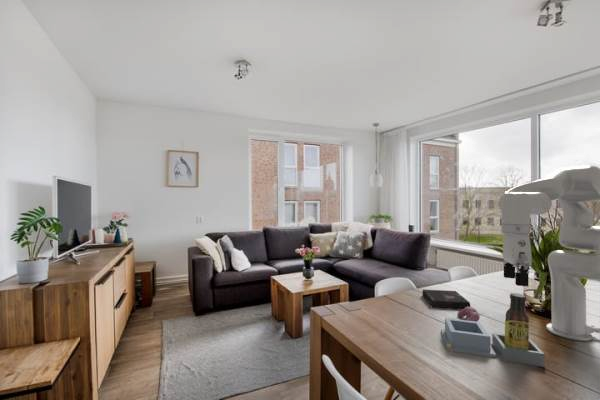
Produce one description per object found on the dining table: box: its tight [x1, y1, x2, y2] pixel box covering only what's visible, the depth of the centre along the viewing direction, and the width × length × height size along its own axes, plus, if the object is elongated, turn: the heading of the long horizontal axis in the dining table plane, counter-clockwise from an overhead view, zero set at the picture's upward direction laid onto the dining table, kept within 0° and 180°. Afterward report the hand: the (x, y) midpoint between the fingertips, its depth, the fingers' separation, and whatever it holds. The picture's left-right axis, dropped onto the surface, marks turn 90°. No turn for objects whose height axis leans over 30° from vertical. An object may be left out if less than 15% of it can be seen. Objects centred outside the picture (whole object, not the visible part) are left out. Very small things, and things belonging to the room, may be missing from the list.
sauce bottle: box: [504, 292, 530, 350], centre depth 91 cm, size 6×6×20 cm
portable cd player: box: [422, 289, 472, 310], centre depth 138 cm, size 16×17×4 cm
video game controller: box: [457, 306, 481, 322], centre depth 116 cm, size 10×5×7 cm, turn 169°
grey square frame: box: [491, 332, 546, 368], centre depth 91 cm, size 11×11×4 cm
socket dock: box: [440, 317, 497, 358], centre depth 98 cm, size 14×14×6 cm
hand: (515, 281), depth 91 cm, fingers open, 9 cm apart
